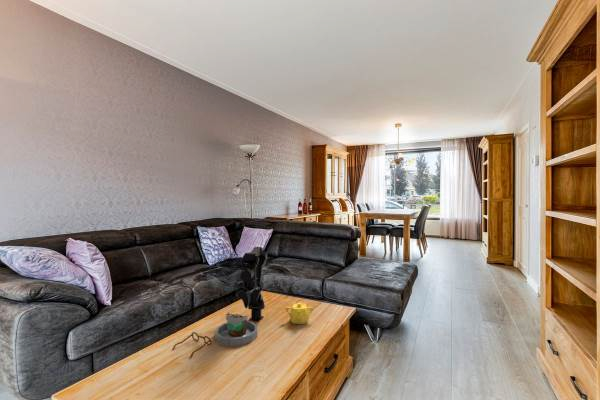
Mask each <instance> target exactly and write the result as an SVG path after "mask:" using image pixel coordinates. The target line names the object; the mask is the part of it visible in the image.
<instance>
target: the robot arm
mask: <svg viewBox="0 0 600 400" xmlns="http://www.w3.org/2000/svg"><path fill="white" fill-rule="evenodd" d="M267 261H268V254H267V251H265V250H264V249H263V247H262V246H254V247H253V249H252V250H251V251H249V252H245V253H244V254H243V255H242V261H241V265H240V266H241V268H243V270H242V272H241V273H240V276H239V277H240V279H241V281H240V280H238V281H234V288H235V289H236V290H238V291H236V297H237V298H240V299H241V300H242V303H243V306H244V308H245V309H248V310H250V312H251V313H250V314H251V315H250V317H248V321H249V320H250V321H253V322H254V321H255V322H260V321H261V320H262V319H263V318H265V316H264V315H262V310H264V309H265V307H266V305H265V301H264V299H263V298H264V296H263V295H262V290H263V289H264V288H265V287H264V283H263V282H262V280H263V279H262V278H263V272H264V271H263V268H265V265H266V263H267Z"/></svg>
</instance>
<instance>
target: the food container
mask: <svg viewBox="0 0 600 400" xmlns="http://www.w3.org/2000/svg"><path fill="white" fill-rule="evenodd" d="M225 320H226V323H227V324H228V333H229V336H231V337H240V336H243V335H245V334H246V325H247V321H248V320H249V317H248V315H247V314H246V315H241V314H235V313H230V312H229V311H228V312H226V316H225Z"/></svg>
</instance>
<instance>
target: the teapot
mask: <svg viewBox="0 0 600 400" xmlns="http://www.w3.org/2000/svg"><path fill="white" fill-rule="evenodd" d="M289 309H290V310H289ZM309 309H310V311H309ZM285 311H286V313H287V314H288V315H289V319H290V321H291V324H295V325H305V324H307V323H308V321H309V317H310V315H311V314H312V313H313V312H314V307H313V306H307V305H306V304H305V303H302V302H300V301H299V302H298V303H293V305H292V306H286V307H285Z"/></svg>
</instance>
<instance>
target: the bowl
mask: <svg viewBox="0 0 600 400" xmlns="http://www.w3.org/2000/svg"><path fill="white" fill-rule="evenodd" d="M214 332H215V333H214V336H215V337H214V340H215V341H216V343H218V344H219V345H220V346H221V345H222V346H225V347H240V346H241V347H242V346H245V345H247V344H250V343H252V342H253V341H254V340H255V339H257V337H258V324H256V323H254V321H252V320H250V321H249V320H247V325H246V334H245V335H243V336H240V337H231V336H229V333H228V324H227V322H224V323H222V324H220V325H219V326H218V327H216V329H215V331H214Z"/></svg>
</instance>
